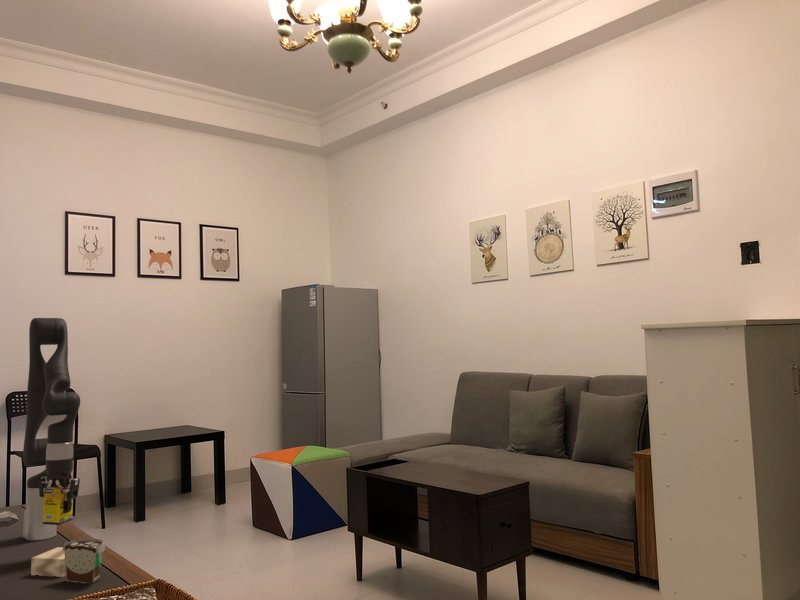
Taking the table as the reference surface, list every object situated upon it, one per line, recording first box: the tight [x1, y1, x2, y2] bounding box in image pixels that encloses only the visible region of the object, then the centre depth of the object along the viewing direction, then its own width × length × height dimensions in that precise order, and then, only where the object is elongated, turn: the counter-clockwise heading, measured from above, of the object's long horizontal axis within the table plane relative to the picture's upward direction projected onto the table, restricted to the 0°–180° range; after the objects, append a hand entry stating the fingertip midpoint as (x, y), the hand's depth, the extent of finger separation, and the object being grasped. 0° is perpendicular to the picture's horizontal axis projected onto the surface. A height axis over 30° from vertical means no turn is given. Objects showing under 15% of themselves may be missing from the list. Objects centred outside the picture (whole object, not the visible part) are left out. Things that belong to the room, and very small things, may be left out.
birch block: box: [30, 546, 66, 578], centre depth 181 cm, size 10×10×5 cm
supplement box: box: [43, 486, 74, 526], centre depth 195 cm, size 6×6×11 cm
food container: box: [63, 538, 106, 584], centre depth 174 cm, size 12×6×10 cm, turn 71°
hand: (58, 511), depth 195 cm, fingers closed on supplement box, 6 cm apart
